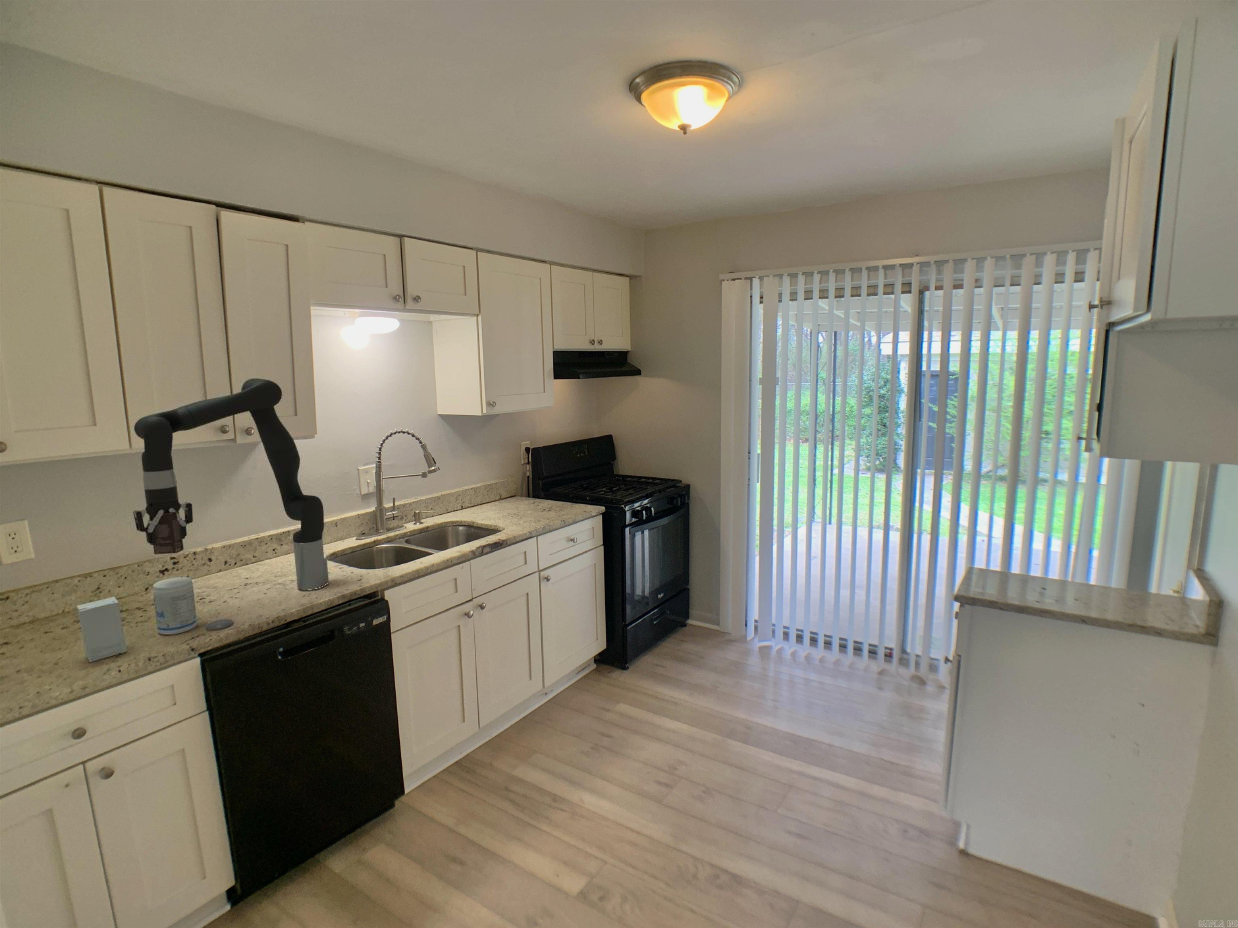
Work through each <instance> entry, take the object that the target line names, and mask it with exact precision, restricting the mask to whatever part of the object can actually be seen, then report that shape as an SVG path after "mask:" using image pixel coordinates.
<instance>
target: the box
mask: <svg viewBox="0 0 1238 928" xmlns="http://www.w3.org/2000/svg"><path fill="white" fill-rule="evenodd" d="M176 512H177V513H178V515H179V516H180V510H179V511H176ZM176 512H167V513H163V514H162V516H161V517H160V520H159V521H158V523H157V525H156V526H155V528H154V529H153V532H154V536H155V545H152V546H153V547H152V548H153V554H154V555H165V554H169V555H171V554H178V553H180V552H182V551H184V541H183V540H184V539H182V532H181V524H180V523H179V521H178V520H177V514H176ZM149 518H150V521H153V518H152V517H151V516H149V515H148V519H149Z"/></svg>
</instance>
